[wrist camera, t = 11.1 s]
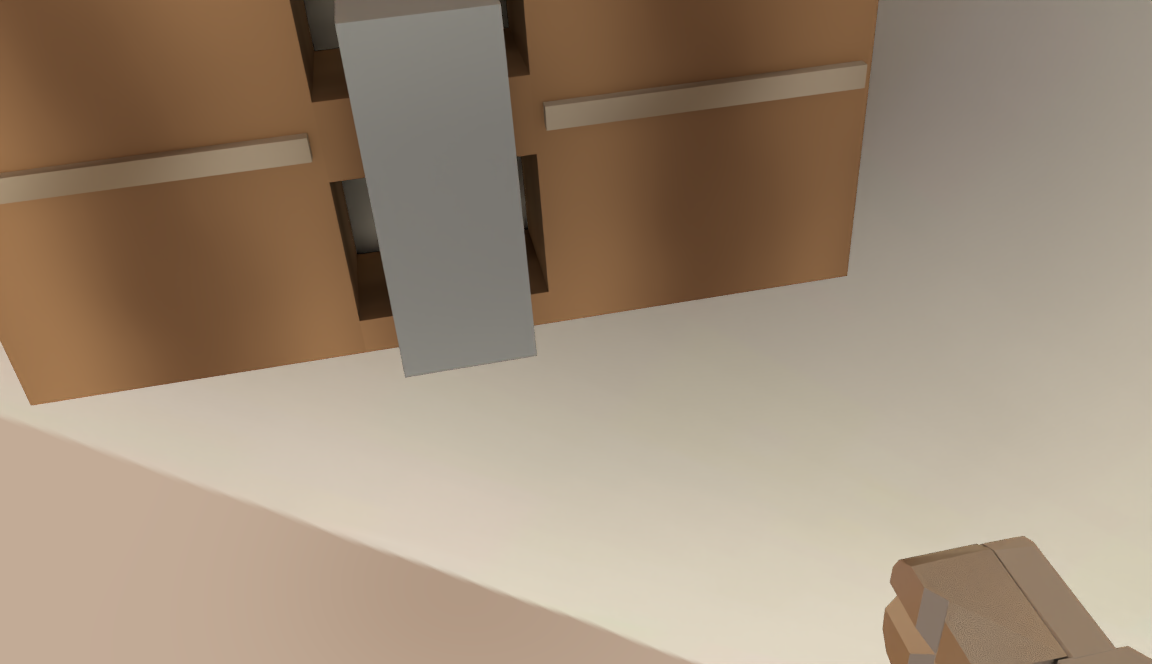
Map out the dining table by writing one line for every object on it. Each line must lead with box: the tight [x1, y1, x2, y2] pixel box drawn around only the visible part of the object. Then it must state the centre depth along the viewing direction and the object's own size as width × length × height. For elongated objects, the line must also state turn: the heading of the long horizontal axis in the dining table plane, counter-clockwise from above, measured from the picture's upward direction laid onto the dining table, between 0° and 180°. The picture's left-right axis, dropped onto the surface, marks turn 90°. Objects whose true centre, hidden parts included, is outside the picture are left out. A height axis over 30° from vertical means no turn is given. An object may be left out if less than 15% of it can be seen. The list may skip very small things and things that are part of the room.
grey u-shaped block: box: [335, 0, 537, 377], centre depth 24 cm, size 3×8×8 cm, turn 3°
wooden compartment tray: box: [0, 0, 879, 405], centre depth 25 cm, size 22×12×4 cm, turn 93°
